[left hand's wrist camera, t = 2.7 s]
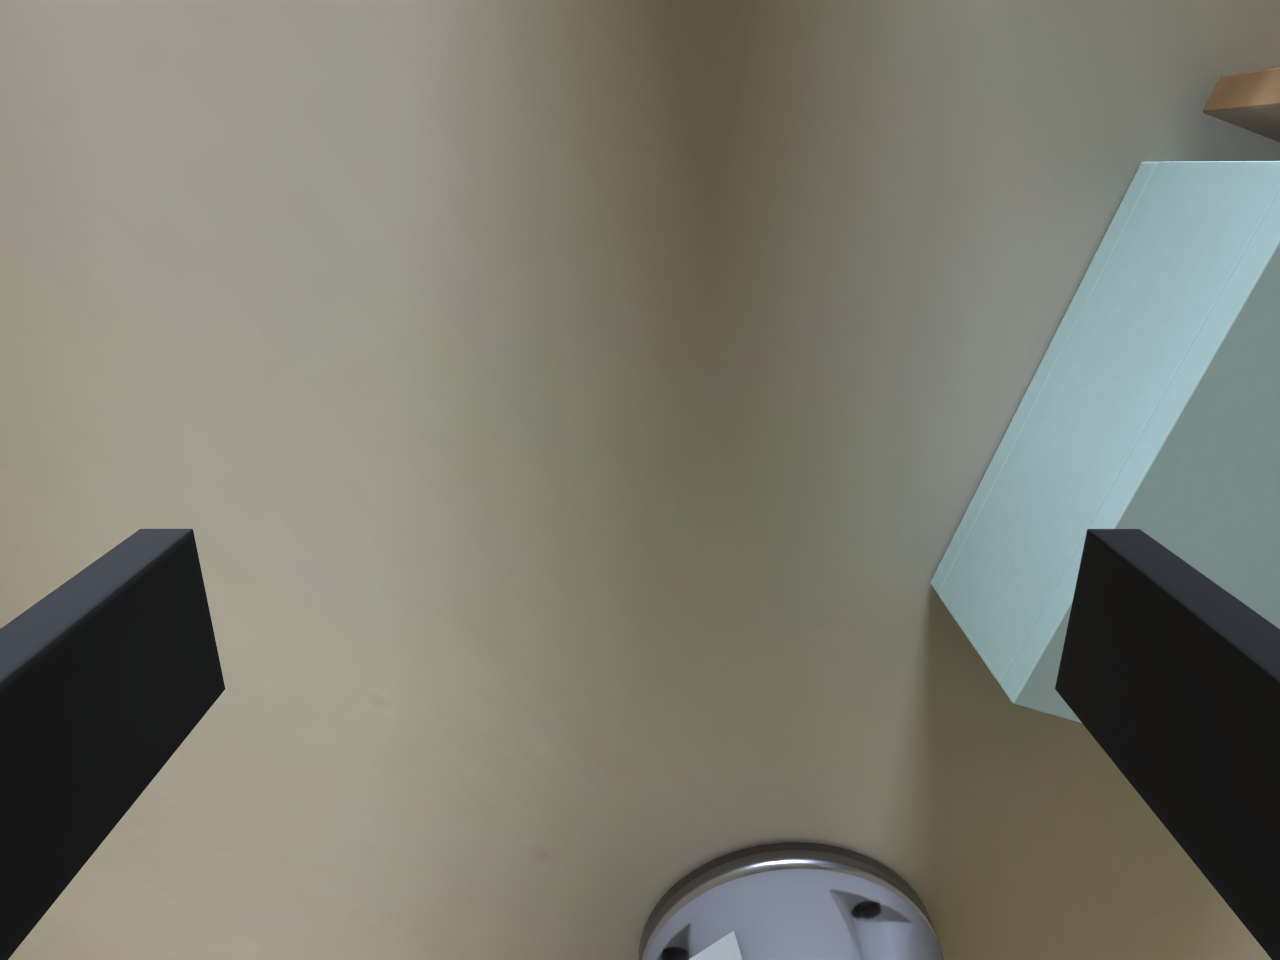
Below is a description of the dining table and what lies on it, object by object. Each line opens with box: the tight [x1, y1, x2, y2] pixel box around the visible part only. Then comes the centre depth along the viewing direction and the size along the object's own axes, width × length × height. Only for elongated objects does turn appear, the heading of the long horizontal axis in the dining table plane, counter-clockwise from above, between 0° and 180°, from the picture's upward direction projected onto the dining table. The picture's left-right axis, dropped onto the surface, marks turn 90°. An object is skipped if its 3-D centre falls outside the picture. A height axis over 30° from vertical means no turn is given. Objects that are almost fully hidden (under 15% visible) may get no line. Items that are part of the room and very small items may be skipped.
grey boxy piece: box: [930, 161, 1280, 724], centre depth 29 cm, size 18×11×9 cm, turn 162°
